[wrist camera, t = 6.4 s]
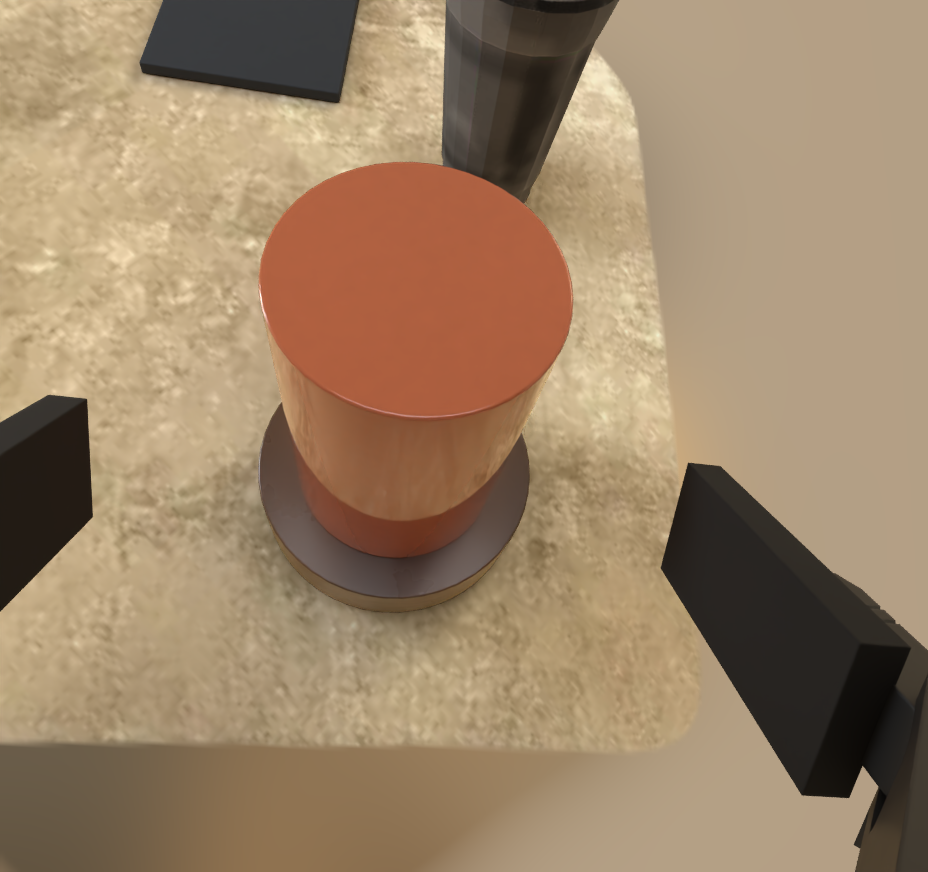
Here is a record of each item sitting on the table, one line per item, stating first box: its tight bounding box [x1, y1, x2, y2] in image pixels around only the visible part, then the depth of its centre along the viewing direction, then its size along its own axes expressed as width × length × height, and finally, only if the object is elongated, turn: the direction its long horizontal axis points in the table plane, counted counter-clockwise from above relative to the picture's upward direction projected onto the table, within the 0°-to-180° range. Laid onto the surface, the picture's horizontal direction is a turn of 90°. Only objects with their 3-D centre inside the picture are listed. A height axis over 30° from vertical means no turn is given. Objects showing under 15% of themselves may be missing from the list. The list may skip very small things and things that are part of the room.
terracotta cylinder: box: [258, 162, 573, 558], centre depth 21 cm, size 7×7×11 cm
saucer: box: [258, 402, 530, 612], centre depth 27 cm, size 10×10×2 cm
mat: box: [140, 0, 359, 102], centre depth 38 cm, size 10×10×1 cm
